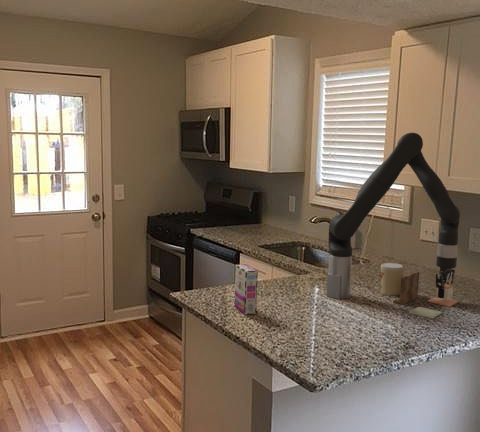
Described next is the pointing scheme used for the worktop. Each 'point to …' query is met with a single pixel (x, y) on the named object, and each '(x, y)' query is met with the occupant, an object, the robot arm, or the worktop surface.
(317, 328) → the worktop surface
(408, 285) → the screen
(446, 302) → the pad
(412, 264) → the worktop surface
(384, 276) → the coffee cup
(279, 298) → the worktop surface
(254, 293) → the candy bar box
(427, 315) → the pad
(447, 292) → the block
